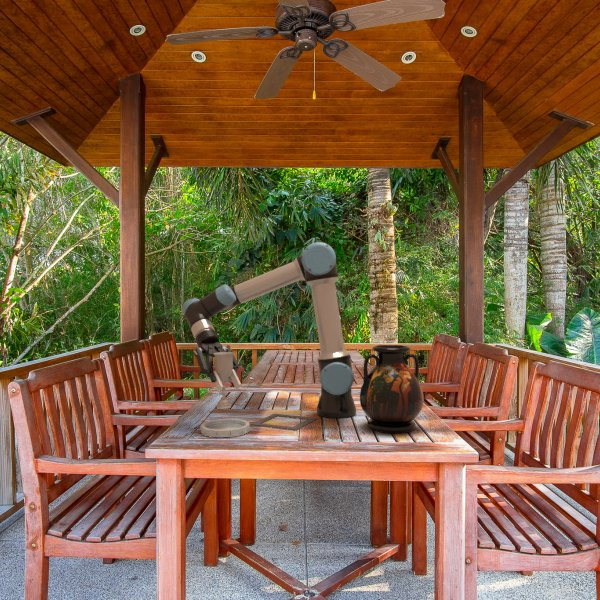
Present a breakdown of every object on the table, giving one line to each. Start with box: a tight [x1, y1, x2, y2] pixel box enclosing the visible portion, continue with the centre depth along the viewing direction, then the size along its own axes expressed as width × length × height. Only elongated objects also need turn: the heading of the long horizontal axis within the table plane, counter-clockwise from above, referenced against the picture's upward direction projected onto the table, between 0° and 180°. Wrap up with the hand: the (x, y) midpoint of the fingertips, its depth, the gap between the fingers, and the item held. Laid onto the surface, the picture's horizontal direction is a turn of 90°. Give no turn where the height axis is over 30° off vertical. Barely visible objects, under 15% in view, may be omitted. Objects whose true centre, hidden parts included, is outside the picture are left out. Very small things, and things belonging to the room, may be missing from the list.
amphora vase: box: [359, 344, 425, 434], centre depth 176 cm, size 22×22×28 cm
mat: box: [250, 413, 318, 431], centre depth 185 cm, size 18×18×1 cm
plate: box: [199, 418, 250, 438], centre depth 172 cm, size 16×16×2 cm
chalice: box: [213, 351, 235, 410], centre depth 172 cm, size 7×7×18 cm
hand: (229, 387), depth 169 cm, fingers closed on chalice, 6 cm apart
